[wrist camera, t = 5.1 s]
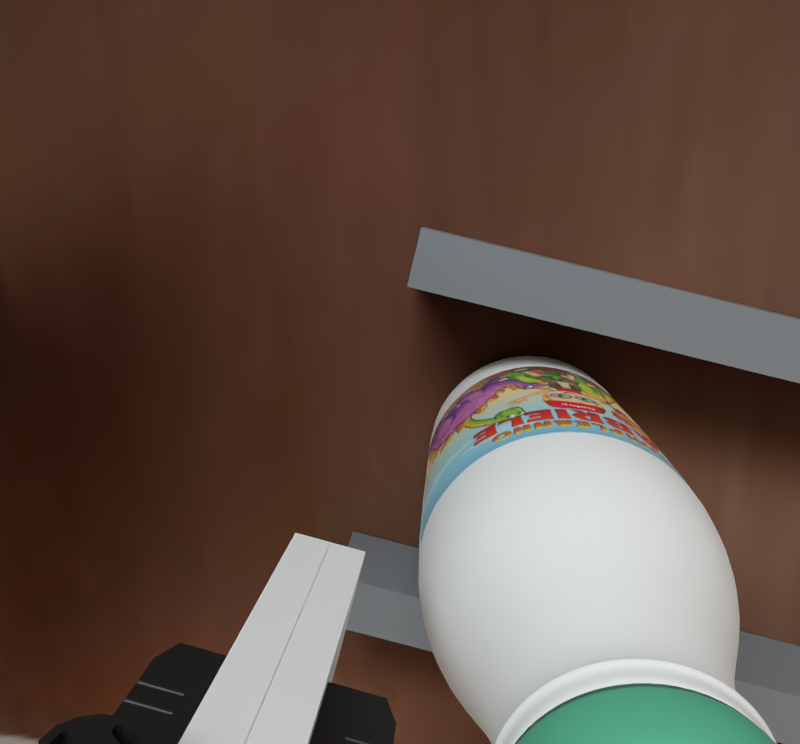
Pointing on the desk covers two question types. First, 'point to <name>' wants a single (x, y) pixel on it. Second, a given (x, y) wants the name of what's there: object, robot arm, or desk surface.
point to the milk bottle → (573, 571)
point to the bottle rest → (615, 317)
